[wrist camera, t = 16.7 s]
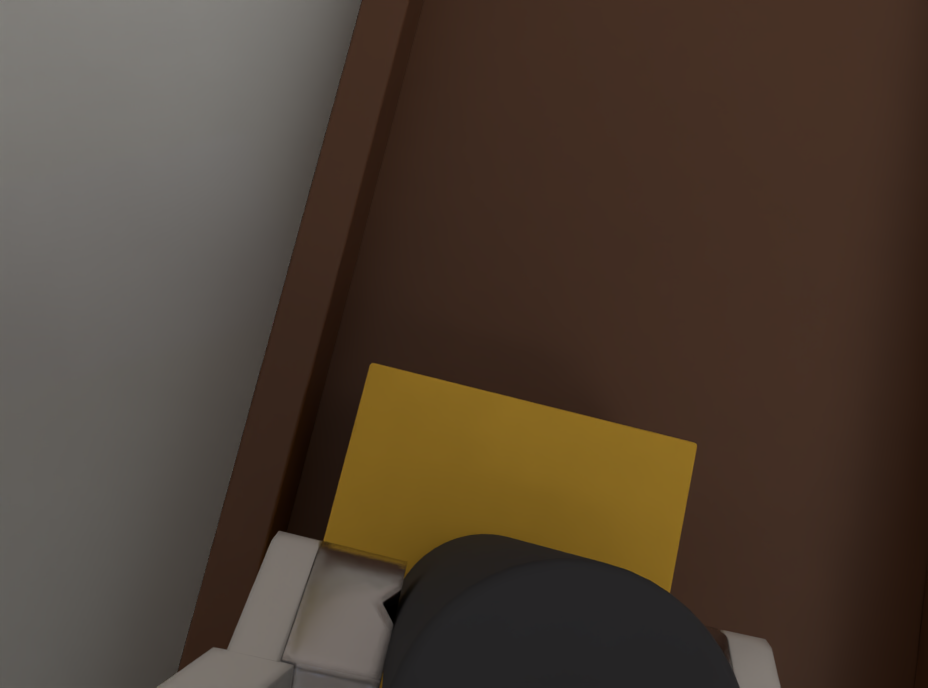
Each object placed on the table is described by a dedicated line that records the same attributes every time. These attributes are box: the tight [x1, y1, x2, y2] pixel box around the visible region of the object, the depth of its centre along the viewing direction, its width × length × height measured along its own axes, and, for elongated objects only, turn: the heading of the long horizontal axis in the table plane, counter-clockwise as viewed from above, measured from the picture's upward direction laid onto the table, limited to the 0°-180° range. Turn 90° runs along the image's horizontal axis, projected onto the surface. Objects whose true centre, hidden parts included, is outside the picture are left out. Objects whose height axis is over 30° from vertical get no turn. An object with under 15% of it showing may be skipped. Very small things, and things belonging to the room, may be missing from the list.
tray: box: [177, 0, 928, 688], centre depth 15 cm, size 26×13×2 cm, turn 167°
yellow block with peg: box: [323, 363, 740, 688], centre depth 10 cm, size 6×5×9 cm
